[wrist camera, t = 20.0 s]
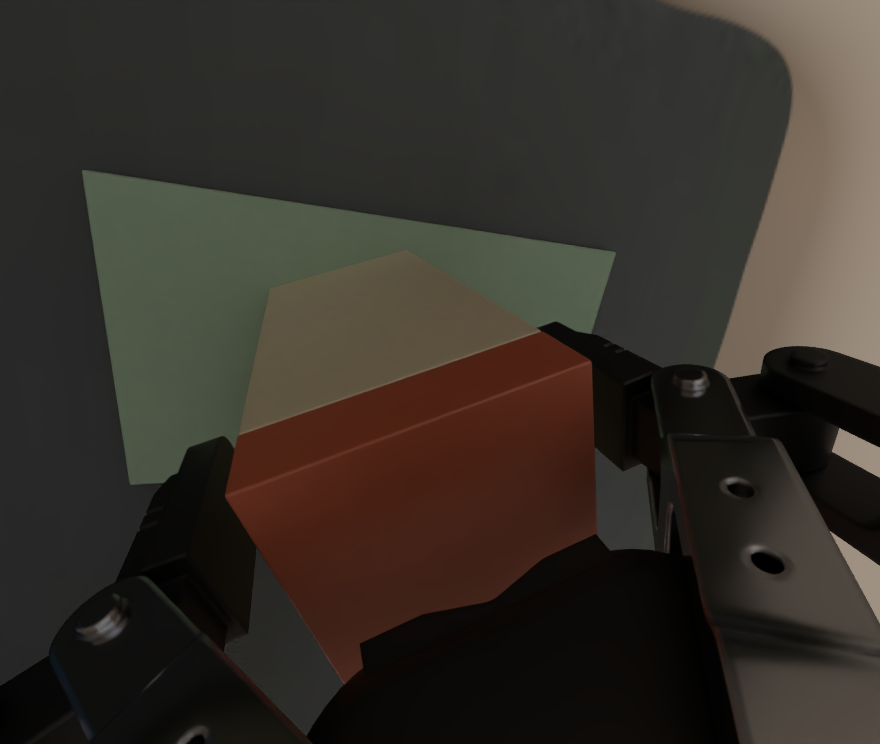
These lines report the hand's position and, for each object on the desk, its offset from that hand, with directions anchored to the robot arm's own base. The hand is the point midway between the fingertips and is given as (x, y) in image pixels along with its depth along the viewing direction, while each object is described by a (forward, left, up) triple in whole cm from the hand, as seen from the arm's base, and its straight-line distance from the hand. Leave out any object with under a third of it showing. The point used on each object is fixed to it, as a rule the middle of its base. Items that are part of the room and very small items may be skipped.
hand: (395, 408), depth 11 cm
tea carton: (+1, -2, -2) cm, 3 cm away
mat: (+2, -2, -8) cm, 9 cm away
